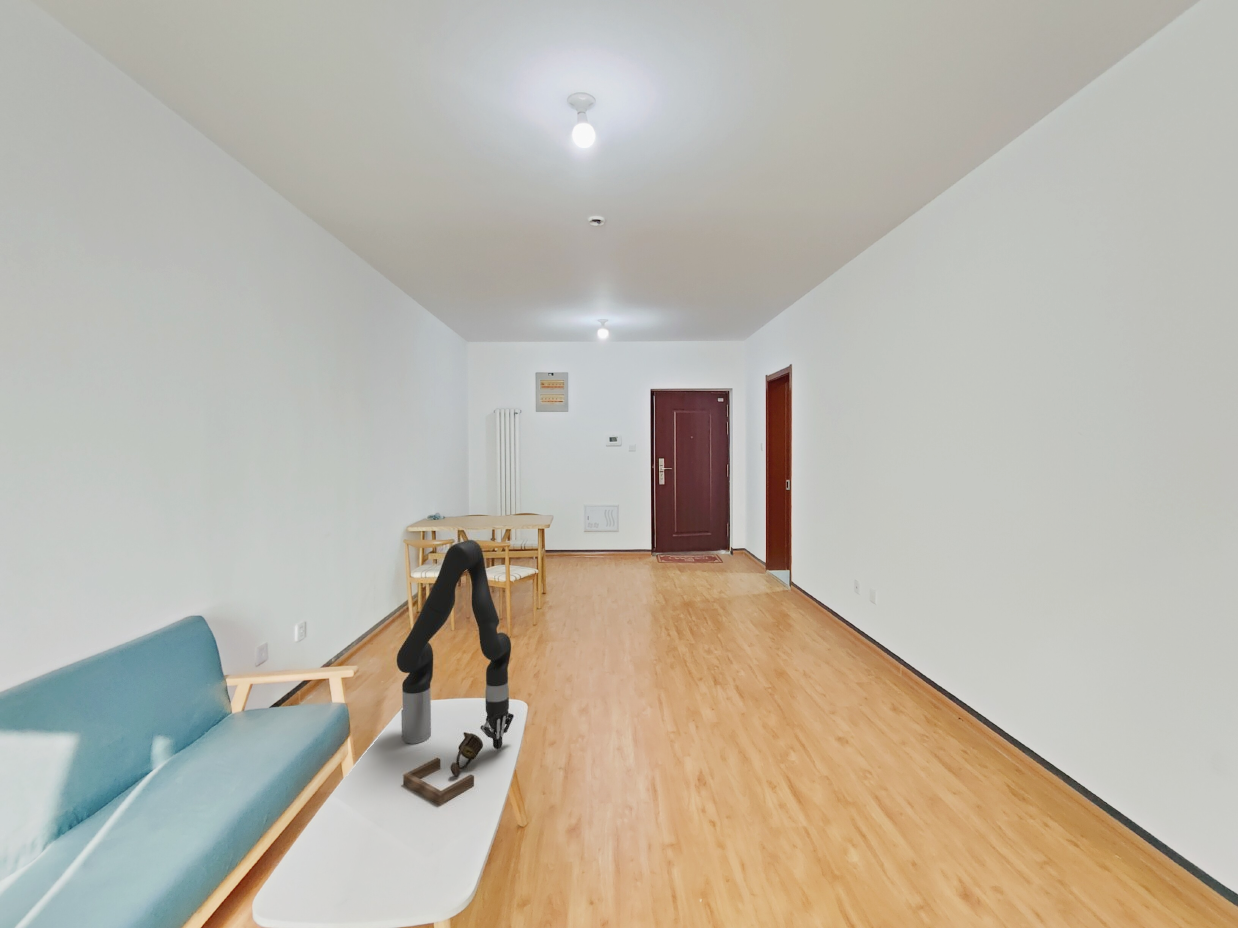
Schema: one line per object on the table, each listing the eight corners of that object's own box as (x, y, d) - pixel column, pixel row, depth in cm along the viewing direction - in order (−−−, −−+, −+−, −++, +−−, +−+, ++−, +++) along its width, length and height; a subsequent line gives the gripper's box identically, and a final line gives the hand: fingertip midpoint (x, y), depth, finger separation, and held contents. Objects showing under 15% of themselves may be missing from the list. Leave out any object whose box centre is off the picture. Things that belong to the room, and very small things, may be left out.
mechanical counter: (486, 758, 188) (485, 727, 188) (472, 780, 176) (471, 747, 175) (464, 757, 189) (464, 726, 189) (449, 779, 176) (448, 746, 176)
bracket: (403, 784, 174) (403, 774, 174) (437, 766, 183) (437, 757, 183) (440, 805, 163) (439, 794, 163) (474, 785, 173) (473, 775, 173)
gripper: (504, 686, 199) (504, 736, 200) (473, 699, 188) (474, 752, 189) (519, 691, 195) (520, 743, 195) (489, 705, 184) (490, 760, 184)
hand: (497, 747), depth 192 cm, fingers closed
